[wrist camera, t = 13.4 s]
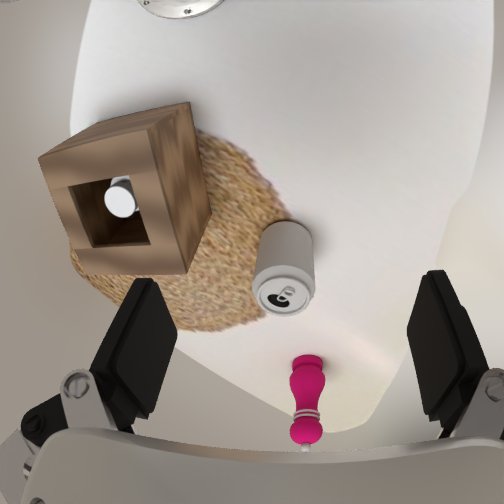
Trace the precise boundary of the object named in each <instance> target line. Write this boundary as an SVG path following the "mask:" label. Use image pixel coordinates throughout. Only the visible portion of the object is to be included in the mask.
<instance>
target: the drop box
mask: <svg viewBox="0 0 504 504" xmlns="http://www.w3.org/2000/svg"><path fill="white" fill-rule="evenodd" d="M38 161H39V164H40V167H41V170H42V172H43V175H44V178H45V181H46V183H47V186H48V189H49V191H50V194H51V197H52V199H53V202H54V204H55V207H56V209H57V212H58V214H59V216H60V219H61V221H62V223H63V226H64V228H65V230H66V232H67V235H68V237H69V239H70V241H71V244H72V246H73V248H74V250H75V252H76V254H77V256H78V258H79V261H80V263H81V265H82V267H83V269H84V271H85V273H86V275H175V274H187V272H188V270H189V267H190V265H191V262H192V260H193V258H194V255H195V253H196V250H197V248H198V245H199V243H200V241H201V238H202V236H203V233H204V231H205V229H206V226H207V224H208V222H209V219H210V217H211V215H212V212H211V208H210V203H209V198H208V193H207V189H206V184H205V179H204V174H203V169H202V164H201V159H200V154H199V149H198V144H197V139H196V133H195V128H194V123H193V118H192V112H191V107H190V102H186V103H180V104H175V105H170V106H165V107H160V108H155V109H150V110H146V111H141V112H137V113H133V114H129V115H125V116H121V117H117V118H113V119H109V120H106V121H102V122H98V123H96V124H94V125H92V126H90V127H88V128H86V129H85V130H83V131H81V132H79V133H78V134H76V135H74V136H72V137H71V138H69V139H67V140H66V141H64V142H62V143H61V144H59V145H57V146H56V147H54V148H53V149H51V150H49V151H48V152H46V153H45V154H43V155H42V156H40V157H39V158H38ZM127 175H129V178H130V181H131V185H132V188H133V191H134V195H135V198H136V201H137V204H138V207H139V210H138V211H134V213H133V214H132V215H130V216H128V217H118V216H116V215H114V214H113V213H111V212H110V211H109V209H108V208H107V206H106V204H105V193H106V191H107V190H108V189H109V188H110V186H111V181H112V179H113V178H115V177H121V176H127Z"/></svg>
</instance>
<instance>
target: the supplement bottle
mask: <svg viewBox="0 0 504 504" xmlns="http://www.w3.org/2000/svg"><path fill="white" fill-rule="evenodd" d="M105 204H106V206H107V208H108V209H109V211H110V212H111V213H113V214H114V215H116V216H118V217H128V216H130V215H132V214H133V213H134V211H138V210H139V207H138V204H137V201H136V198H135V195H134V191H133V188H132V185H131V181H130V178H129V175H127V176H121V177H115V178H113V179H112V181H111V186H110V188H109V189H108V190H107V191H106V193H105Z"/></svg>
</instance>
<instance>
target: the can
mask: <svg viewBox="0 0 504 504" xmlns="http://www.w3.org/2000/svg"><path fill="white" fill-rule="evenodd" d="M252 291H253V294H254V296H255V298H256V299H257V302H258V305H259V306H260V307H261V308H262V309H263V310H264V311H266V312H268V313H270V314H273V315H276V316H284V317H285V316H292V315H295V314H298V313H300V312H302V311H303V310H304V309H305V308H306V307H307V306H308V304H309V302H310V301H311V299H312V298H313V297H314V293H315V275H314V259H313V245H312V239H311V236H310V234H309V232H308V231H307V230H306V229H305V228H304V227H302V226H301V225H299V224H296V223H294V222H287V221H283V222H277V223H274V224H272V225H270V226H268V227H267V228H266V229H265V230H264V231H263V233H262V235H261V237H260V241H259V247H258V253H257V259H256V266H255V272H254V278H253V286H252Z"/></svg>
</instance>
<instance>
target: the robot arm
mask: <svg viewBox="0 0 504 504" xmlns="http://www.w3.org/2000/svg"><path fill="white" fill-rule="evenodd" d="M13 1H17V0H0V4H5V3H10V2H13ZM148 1H150V3H149V4H148ZM222 1H223V0H138V2H139V3H140V4H141V5H142V7H143V8H145V9H146V10H147V11H149V12H150V13H152V14H155V15H157V16H160V17H164V18H169V19H186V18H191V17H195V16H198V15H201V14H204V13H206V12H208V11H210V10H212V9H213V8H215V7H216V6H217V5H219V4H220V3H221V2H222ZM189 10H191V11H192V12H191V13H190V14H189V13H188V11H189ZM407 337H408V341H409V345H410V348H411V353H412V357H413V361H414V366H415V370H416V374H417V379H418V384H419V389H420V394H421V399H422V404H423V410H424V413H425V415H429V421H430V422H431V421H437V420H440V424H441V427H442V429H441V431H440V432H439V434H438V436H437V437H436V439H435V440H430V441H424V442H419V443H412V444H404V445H397V446H388V447H381V448H371V449H359V450H346V451H323V452H273V451H252V450H238V449H227V448H217V447H208V446H200V445H193V444H186V443H179V442H173V441H167V440H162V439H156V438H151V437H145V436H140V435H139V434H138V432H137V430H136V427H135V425H134V421H135V418H136V417H138V418H142V419H148V417H149V413H152V412H153V411H154V409H155V405H156V402H157V399H158V395H159V392H160V389H161V386H162V383H163V380H164V377H165V374H166V371H167V367H168V364H169V361H170V358H171V355H172V352H173V349H174V346H175V343H176V340H177V329H176V327H175V324H174V322H173V320H172V317H171V315H170V313H169V310H168V308H167V305H166V303H165V301H164V298H163V296H162V293H161V291H160V288H159V286H158V284H157V282H154V281H153V279H152V278H136V279H135V280H134V282H133V284H132V285H131V287H130V289H129V291H128V293H127V295H126V297H125V298H124V300H123V302H122V304H121V306H120V308H119V310H118V312H117V314H116V316H115V318H114V320H113V321H112V323H111V325H110V327H109V329H108V331H107V333H106V336H105V337H104V339H103V341H102V343H101V345H100V347H99V350H98V352H97V354H96V356H95V358H94V360H93V362H92V364H91V367H90V369H89V371H88V370H85V369H76V370H73V371H72V372H70V373H69V374H67V375H66V377H65V378H64V379H63V381H62V383H61V386H60V394H58V395H56V396H54V397H52V398H50V399H49V400H47V401H45V402H44V403H41V404H40V405H38V406H36V407H34V408H32V409H31V410H29V411H28V412H27V413H26V414H25V415H24V417H23V419H22V422H21V430H20V431H19V430H18V429H17V430H15V431H14V432H13V433H12V434H11V435H10V436H9V437H8V438H7V439H6V440H5V441H4V442H3V443H2V444H1V445H0V490H1V492H2V494H3V496H4V498H5V499H6V501H7V502H8V504H504V370H503V369H500V368H493V369H489V367H488V364H487V361H486V358H485V356H484V353H483V350H482V348H481V345H480V342H479V340H478V337H477V335H476V332H475V330H474V328H473V325H472V323H471V320H470V318H469V316H468V313H467V311H466V309H465V308H464V307H463V306H461V304H460V302H459V300H458V297H457V295H456V293H455V291H454V289H453V287H452V285H451V283H450V280H449V279H448V276H447V275H446V272H445V271H444V270H430V271H428V272H427V274H426V275H423V277H422V280H421V283H420V287H419V290H418V294H417V297H416V300H415V304H414V307H413V310H412V313H411V317H410V320H409V323H408V326H407Z"/></svg>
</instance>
